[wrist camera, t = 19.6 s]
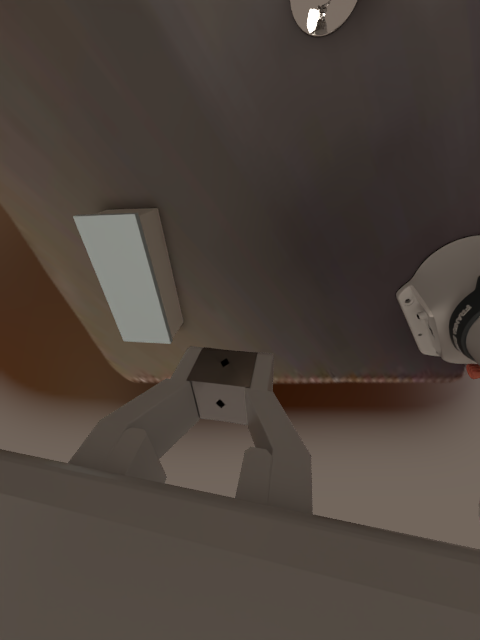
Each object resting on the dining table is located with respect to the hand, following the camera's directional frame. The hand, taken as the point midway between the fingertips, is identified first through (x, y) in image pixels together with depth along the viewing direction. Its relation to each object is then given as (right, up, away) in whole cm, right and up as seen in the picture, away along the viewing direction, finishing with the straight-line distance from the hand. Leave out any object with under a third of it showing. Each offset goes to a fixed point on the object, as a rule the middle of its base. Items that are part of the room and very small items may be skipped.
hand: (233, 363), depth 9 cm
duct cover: (-20, +8, +37) cm, 43 cm away
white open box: (-18, +11, +43) cm, 48 cm away
